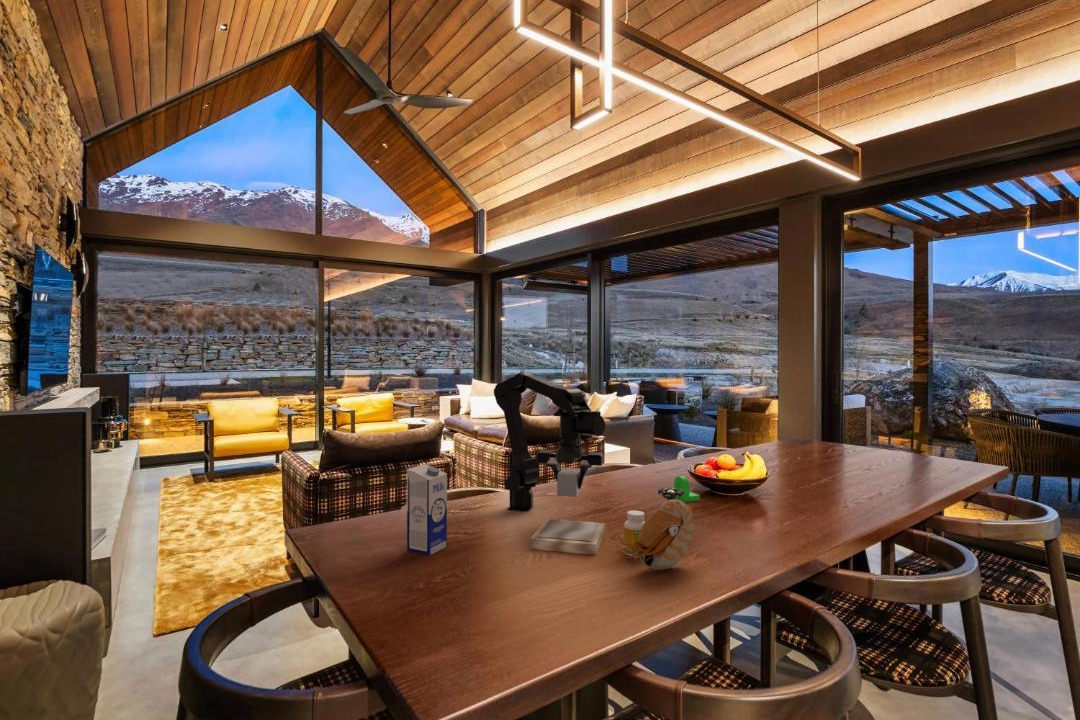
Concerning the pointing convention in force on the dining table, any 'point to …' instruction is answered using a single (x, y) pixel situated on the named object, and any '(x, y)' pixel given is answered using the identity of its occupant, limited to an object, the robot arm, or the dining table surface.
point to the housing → (568, 482)
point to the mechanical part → (683, 485)
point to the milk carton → (426, 510)
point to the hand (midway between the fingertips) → (569, 487)
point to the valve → (671, 493)
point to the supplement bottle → (633, 529)
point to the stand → (568, 536)
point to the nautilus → (664, 536)
